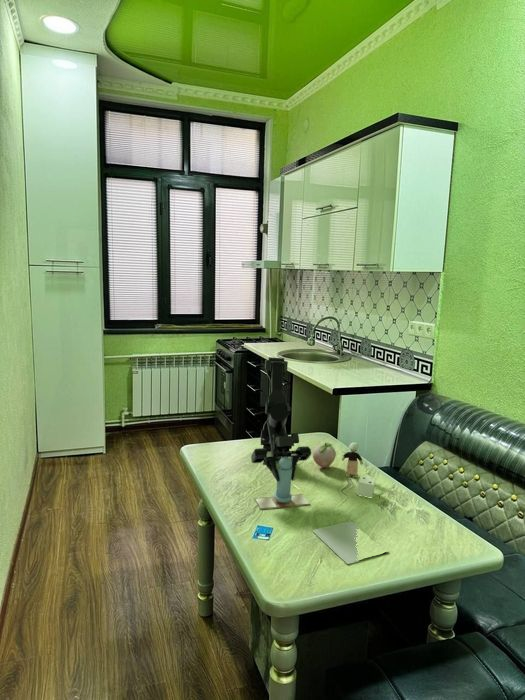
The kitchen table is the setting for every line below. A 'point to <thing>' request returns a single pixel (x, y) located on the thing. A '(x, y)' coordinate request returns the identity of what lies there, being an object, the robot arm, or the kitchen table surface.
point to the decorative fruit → (324, 455)
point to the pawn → (284, 480)
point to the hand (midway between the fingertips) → (285, 480)
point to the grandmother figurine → (352, 460)
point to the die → (366, 486)
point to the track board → (273, 504)
